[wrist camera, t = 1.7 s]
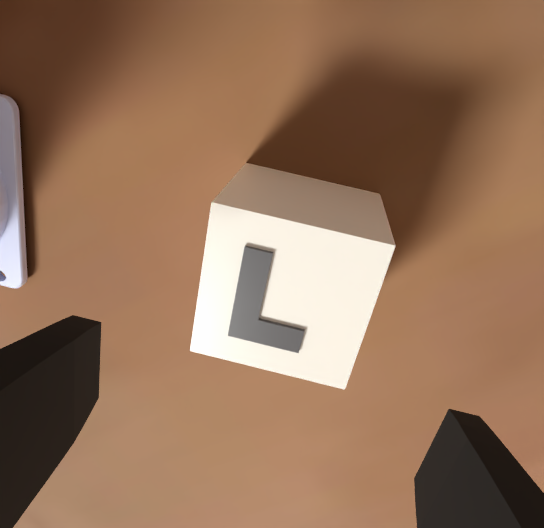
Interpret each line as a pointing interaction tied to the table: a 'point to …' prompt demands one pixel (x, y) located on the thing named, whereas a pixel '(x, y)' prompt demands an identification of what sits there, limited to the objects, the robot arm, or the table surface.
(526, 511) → the robot arm
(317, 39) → the table surface
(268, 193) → the letter cube
